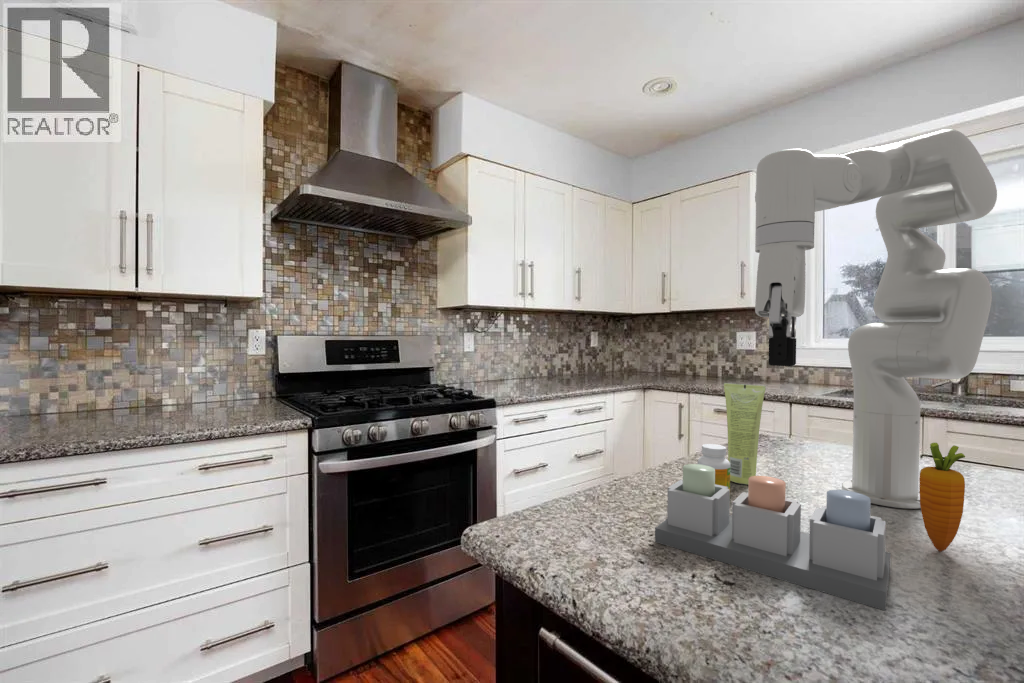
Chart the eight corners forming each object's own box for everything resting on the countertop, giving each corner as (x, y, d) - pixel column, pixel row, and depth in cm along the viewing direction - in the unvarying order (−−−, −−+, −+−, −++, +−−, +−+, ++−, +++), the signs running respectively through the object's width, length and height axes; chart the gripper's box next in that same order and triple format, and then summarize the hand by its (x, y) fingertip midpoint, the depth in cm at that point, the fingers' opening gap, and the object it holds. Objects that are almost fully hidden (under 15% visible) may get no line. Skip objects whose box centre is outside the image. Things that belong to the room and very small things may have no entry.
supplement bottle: (733, 507, 82) (734, 450, 82) (699, 505, 83) (700, 449, 83) (725, 496, 87) (726, 443, 87) (694, 494, 88) (695, 442, 88)
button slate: (828, 525, 62) (829, 487, 62) (871, 535, 59) (871, 495, 59) (823, 537, 59) (824, 496, 59) (868, 547, 56) (869, 504, 56)
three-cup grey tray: (685, 516, 78) (686, 473, 78) (890, 568, 61) (891, 513, 61) (654, 541, 69) (655, 493, 69) (885, 610, 52) (886, 546, 52)
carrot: (952, 546, 67) (955, 439, 67) (973, 562, 63) (976, 448, 62) (909, 541, 69) (912, 437, 69) (926, 556, 64) (929, 444, 64)
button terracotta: (752, 509, 68) (753, 473, 68) (788, 516, 65) (788, 480, 65) (744, 518, 65) (744, 481, 64) (781, 527, 62) (781, 488, 62)
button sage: (688, 494, 74) (689, 462, 74) (718, 501, 71) (719, 467, 71) (677, 502, 70) (678, 468, 70) (708, 510, 67) (709, 474, 67)
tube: (746, 476, 99) (747, 382, 99) (764, 484, 94) (765, 385, 94) (722, 478, 98) (723, 382, 98) (739, 486, 93) (740, 385, 93)
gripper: (767, 249, 79) (766, 361, 79) (742, 235, 67) (740, 367, 67) (822, 244, 74) (820, 363, 74) (804, 227, 62) (802, 370, 63)
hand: (782, 364), depth 71 cm, fingers closed
